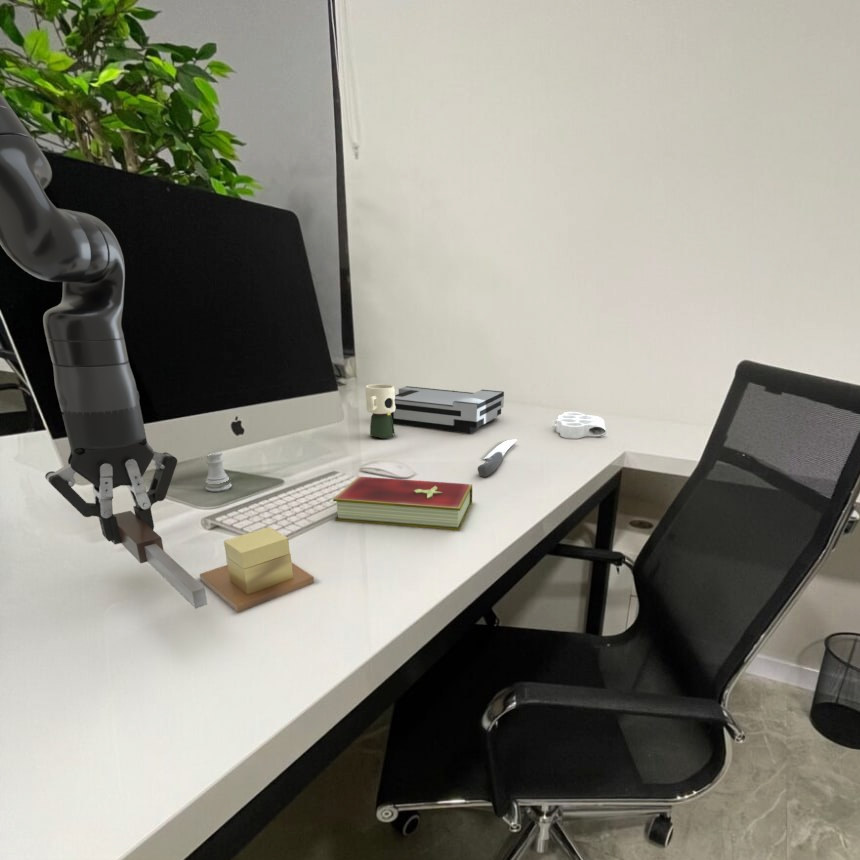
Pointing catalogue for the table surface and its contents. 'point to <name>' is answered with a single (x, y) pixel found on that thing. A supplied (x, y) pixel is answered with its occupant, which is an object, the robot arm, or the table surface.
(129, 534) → the butter knife
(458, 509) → the hardcover book
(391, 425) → the character mug
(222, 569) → the butter board
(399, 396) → the game console
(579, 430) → the white dimpled palette
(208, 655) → the table surface
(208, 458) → the rook chess piece
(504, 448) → the kitchen knife
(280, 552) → the butter pat
